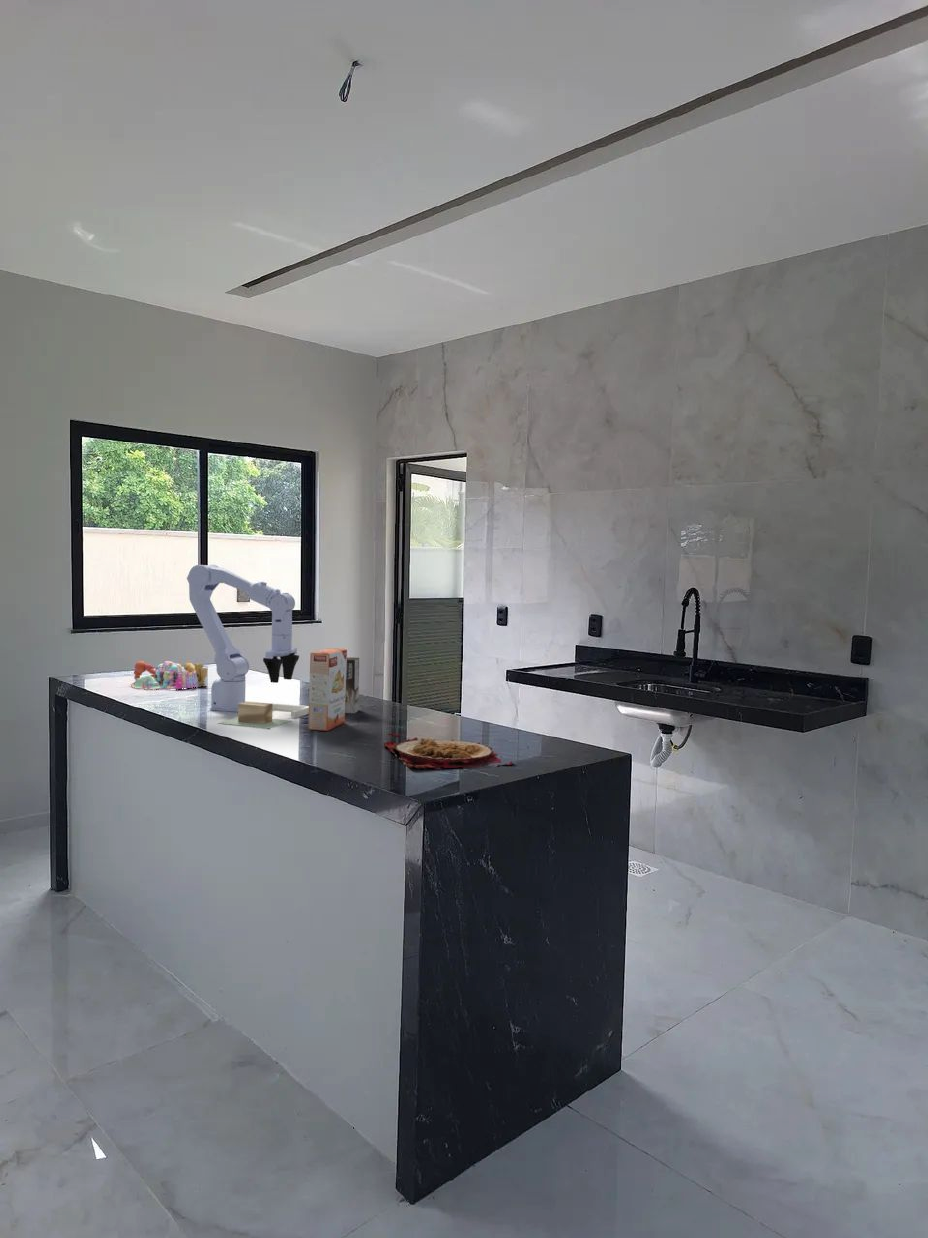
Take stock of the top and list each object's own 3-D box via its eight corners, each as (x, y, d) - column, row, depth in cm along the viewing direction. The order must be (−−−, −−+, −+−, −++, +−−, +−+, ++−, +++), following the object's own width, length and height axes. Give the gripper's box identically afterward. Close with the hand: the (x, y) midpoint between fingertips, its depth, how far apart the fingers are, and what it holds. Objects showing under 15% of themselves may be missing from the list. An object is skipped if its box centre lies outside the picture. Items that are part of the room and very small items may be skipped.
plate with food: (411, 775, 191) (412, 759, 191) (381, 747, 216) (382, 732, 215) (515, 770, 199) (516, 755, 199) (475, 744, 224) (476, 730, 224)
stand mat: (217, 724, 238) (217, 722, 238) (242, 716, 249) (242, 715, 249) (269, 729, 233) (269, 728, 233) (292, 721, 244) (292, 720, 244)
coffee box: (359, 710, 265) (360, 657, 264) (354, 714, 259) (355, 659, 258) (329, 709, 266) (330, 656, 265) (324, 712, 260) (325, 658, 259)
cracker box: (328, 732, 231) (330, 653, 230) (307, 730, 232) (308, 652, 231) (346, 722, 245) (347, 648, 244) (326, 721, 246) (327, 647, 245)
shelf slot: (253, 715, 252) (253, 708, 252) (272, 709, 262) (272, 703, 262) (293, 719, 248) (293, 712, 248) (312, 713, 258) (312, 706, 258)
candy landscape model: (191, 680, 321) (191, 655, 320) (218, 688, 303) (218, 661, 302) (121, 685, 305) (121, 658, 304) (146, 694, 287) (146, 666, 286)
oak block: (263, 724, 238) (263, 706, 237) (238, 721, 240) (238, 703, 240) (272, 721, 242) (272, 703, 242) (247, 719, 245) (247, 701, 244)
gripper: (281, 637, 248) (280, 684, 249) (306, 633, 262) (305, 678, 263) (259, 635, 250) (258, 683, 251) (285, 632, 264) (284, 677, 265)
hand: (281, 680), depth 257 cm, fingers open, 7 cm apart
